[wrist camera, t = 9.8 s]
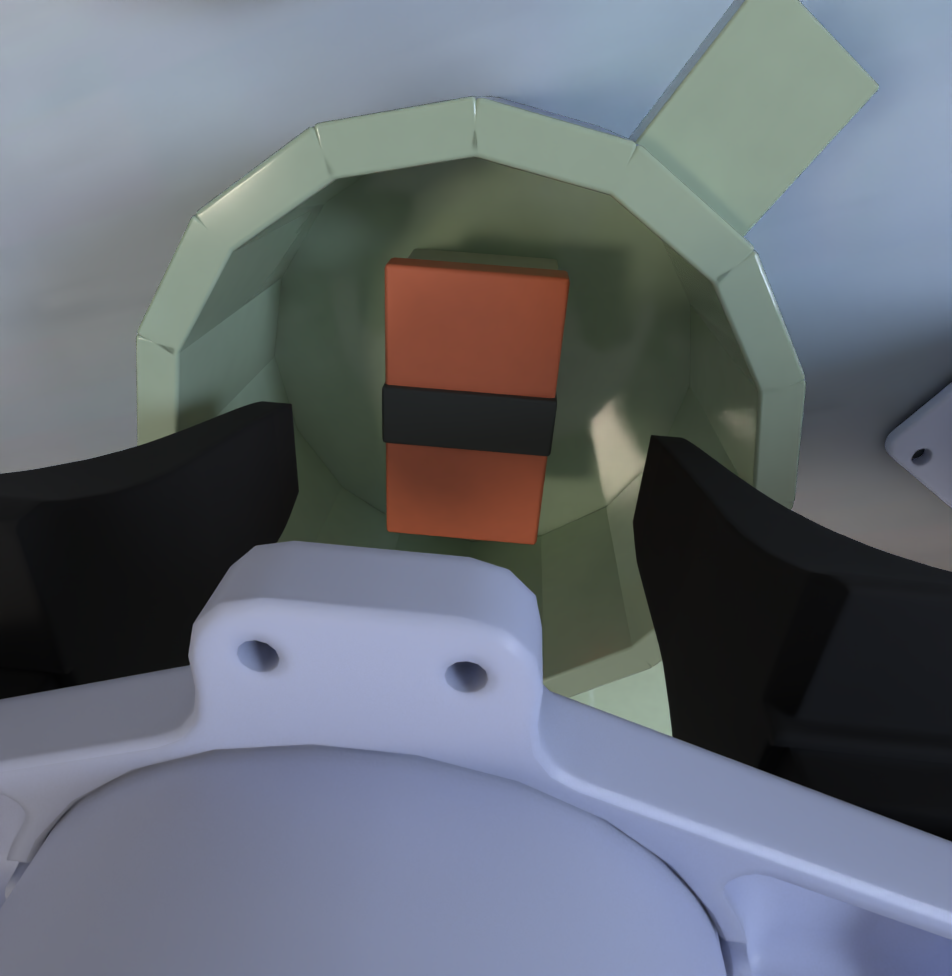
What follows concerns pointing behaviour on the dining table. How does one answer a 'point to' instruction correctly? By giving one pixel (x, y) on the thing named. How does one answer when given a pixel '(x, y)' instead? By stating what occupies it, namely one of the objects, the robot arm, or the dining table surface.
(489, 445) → the sushi
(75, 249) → the dining table surface
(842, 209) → the dining table surface
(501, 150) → the pot
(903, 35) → the dining table surface
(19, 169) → the dining table surface
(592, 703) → the pot lid
